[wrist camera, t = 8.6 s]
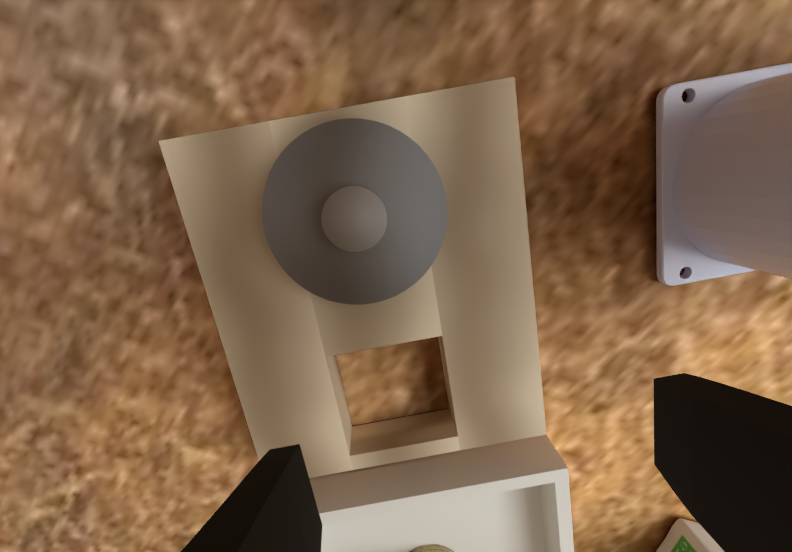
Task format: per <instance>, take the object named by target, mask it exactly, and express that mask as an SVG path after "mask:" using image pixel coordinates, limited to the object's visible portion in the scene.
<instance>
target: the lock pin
mask: <svg viewBox="0 0 792 552" xmlns="http://www.w3.org/2000/svg"><path fill="white" fill-rule="evenodd" d="M410 552H454V551H453V550H452V549H450V548H448V547H446V546H443V545H438V544H427V545H422V546H419V547H416V548H414V549H413V550H411V551H410Z"/></svg>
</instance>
